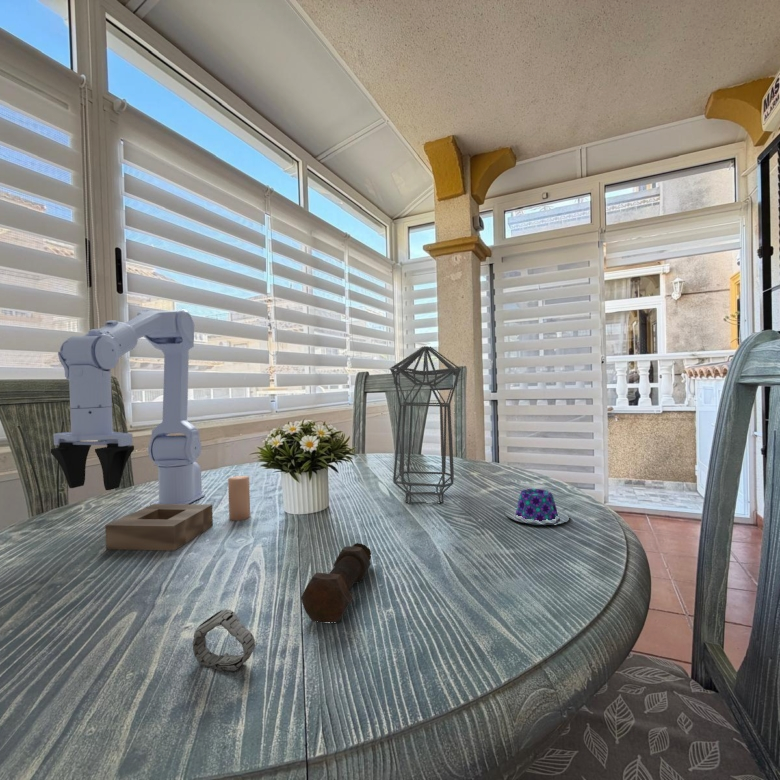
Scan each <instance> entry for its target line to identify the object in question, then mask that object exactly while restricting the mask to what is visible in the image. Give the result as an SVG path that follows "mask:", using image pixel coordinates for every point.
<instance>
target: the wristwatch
mask: <svg viewBox="0 0 780 780" xmlns="http://www.w3.org/2000/svg"><path fill="white" fill-rule="evenodd" d="M218 626H221V627H223V628H224V629H225V630H226V631H228V633H229V635H231V636H232V637H234V638H235V639H236V641H237V642H238V643H239V644H240V645H242V651H243V653H242V654H238V655H232V654H231V655H229V654H228V653H227V652H225V653H224V654H222V655H218V654H216V653H214V652H212V651H210V649H209V647H208V646H207V640H206V636H207V635H208V633H209V632H211V631H212V630H214V629H215V628H216V627H218ZM255 648H256V641H255V638H254V634H253V633H252V632H251V630H249V629H248V628H247V627H246V626H245V625H244V624H243V622H242V621H241V620H240V618H239V617H238V615H237V613H236V612H234V611H233V610H232V609H227V608H224V609H221V610H220V611H218V612H216V613H215V614H214V615H212V616H210V617H209V618H207V619H206V620H204V621H203V622H202V623H200V624H199V626H198V627H196V629H195V630H194V634H193V640H192V651H193V654H194V657H195V659H196V661H197V662H198V664H199V665H200V666H202V667H206V668H211V669H215V670H217V671H219V670H220V671H221V672H225V671H226V672H236V671H237V670H239V668H241V666H242V665H243V664H245V663H247V661H248V660H249V659H250V657H251V655H252V654H253V652H254V651H255Z"/></svg>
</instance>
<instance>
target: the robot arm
mask: <svg viewBox="0 0 780 780" xmlns="http://www.w3.org/2000/svg"><path fill="white" fill-rule="evenodd" d="M104 324H105V326H102V327H100V328H95V329H94V328H92V329H90V330H88V331H87V332H88V333H87V334H85V335H83V336H70V337H69V338H67V339H66V340H65V341H63V342H62V344H61V346H60V349H59V351H57V355H58V356H57V357H58V359H59V363H60V364H61V366H62V367H63V369H64V377H65V378H66V380H67V381H68V385H69V409H70V411H69V412H70V413H69V414H70V432H69V431H68V432H58V433H53V446H57V447H55V448H54V447H53V448H51V449H50V453H51V455H52V456H53V457H54V458H55V460H56V462H57V463H58V464H59V465H60V468H61V469H62V472H63V473H64V477H65V480H66V482H67V485H68V488H69V489H75V488H79V487H83V486H84V485H85V482H86V468H87V467H86V465H87V459H88V455H89V451H90V449H91V447H92V446H104V447H99V448H95V449H94V453H95V454H96V456H97V458H98V461H99V462H100V467H101V471H102V481H103V487H104V489H105V491H112V490H115V489H119V488H120V486H121V481H122V478H123V477H122V476H123V474H124V471H125V467H126V465H127V462H128V460H129V458H130V457H131V455H132V453H133V452H134V450H135V446H134V441H133V440H134V439H133V438H134V437H133V433H131V432H119V431H114V430H113V429H114V428H113V425H114V424H113V407H112V406H113V400H112V399H113V398H112V396H113V395H112V372H111V371H112V369H115V368H116V367H117V365H118V363H119V359H120V358H121V357H122V356H123V355H125V354H126V353H128V352H130V351H132V350H133V349H135V348H136V347H137V344H138V340H139V339H141V338H144V339H146V340H147V341H148V343H150V344H151V346H153V347H154V348H155V349H157V350H160V351H162V353H163V355H164V358H163V359H164V362H163V365H164V366H163V391H162V392H163V394H162V395H163V397H162V421H161V423H159V424H158V425H157V426H156V427H154V428H153V429H152V430H151V436H150V440H149V444H148V448H147V453H148V457H149V458H150V460H151V461H152V463H154V466H155V467H157V469H158V470H157V476H158V477H157V479H158V500H157V501H154V502H153V503H150V504H149V506H150V505H153V504H191V503H193V502H195V501H197V500H199V499H201V498H203V497H206V493H202V492H203V488H202V469H201V466H200V465H199V463H198V462H197V460H198V459H199V458H200V456H201V453H202V442H201V439H200V430H199V428H198V427H196V426H195V425H193V424H192V423H191V422H189V421H188V401H189V400H188V399H189V397H188V395H189V393H188V392H189V366H190V365H189V361H190V359H189V358H190V355H189V353H190V350H192V349H193V348H194V343H195V322H194V320H193V318H192V315H191V314H190V313H189V311H188V310H186V309H184V308H182V309H177V310H176V309H171V310H169V309H168V310H150V309H149V310H148V309H146V310H142V311H138V312H137V315H136V316H135V317H133V318H131V319H130V320H128V321H127V322H122V321H118V320H117V319H116V320H112V319H111V320H106V321H105V322H104ZM171 434H178V435H171ZM179 434H182V435H179Z"/></svg>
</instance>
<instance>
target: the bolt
mask: <svg viewBox="0 0 780 780" xmlns="http://www.w3.org/2000/svg"><path fill="white" fill-rule="evenodd" d="M371 551H372V550H371V549H370V548H369V547H368V546H367V545H365V544H364V543H359V542H356V543H354V544H353V545H350V546H349V545H348V546H347V545H346V546H344V547H343V548H342V549H341V550H340V552H339V554H338V556H337V558H335V559H336V560H335V561H334V564H333V568H332V570H330V572H329V573H328V572H316V573H315V574H314V575H313V576H312V577H311V578H310V580H309V582H308V584H307V586H306V587H305V589H304V591H303V592H302V595H301V597H300V598H301V599H300V600H301V603H302V606H303V609H304V611H305V612H306V615H307V616H308V617H309V619H310V620H312V621H313V622H315V621H316V622H315V623H318V622H330V623H331V622H333V623H334V622H340V621H341V619H342V617H343V616H344V615H345V612H346V610H347V609H348V607H349V605H350V603H351V601H352V600H353V595H352V593H351V592H350V590H351V589H352V587H353V586H354V584H356V583H355V582H359V583H361V582H362V581H363V580H364V578H365V576H366V574H367V572H368V571H369V569H370V567H371V566H372V563H371V558H372V552H371ZM360 581H361V582H360ZM317 621H318V622H317ZM334 624H335V623H334Z"/></svg>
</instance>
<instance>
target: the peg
mask: <svg viewBox="0 0 780 780" xmlns="http://www.w3.org/2000/svg"><path fill="white" fill-rule="evenodd" d="M227 481H228V483H227V484H228V485H227V487H228V489H227V491H228V515H229V517H228V519H229V520H230V521H235V522H236V521H243V520H247V519H249V518H251V498H250V497H251V493H250V490H251V489H250V477H249V476H248V475H237V476H231V477H228V478H227Z"/></svg>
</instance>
